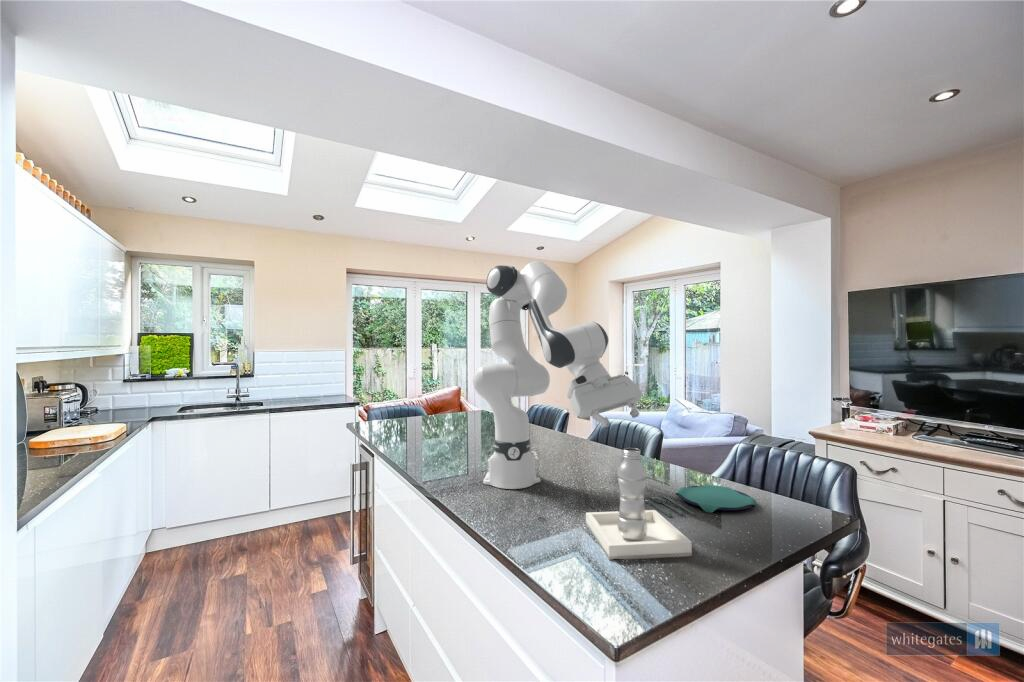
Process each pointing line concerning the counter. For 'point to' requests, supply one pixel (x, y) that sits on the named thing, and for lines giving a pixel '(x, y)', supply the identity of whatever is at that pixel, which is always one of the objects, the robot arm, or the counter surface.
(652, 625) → the counter surface
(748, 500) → the cutlery set
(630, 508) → the plastic bottle
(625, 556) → the ceramic dish
